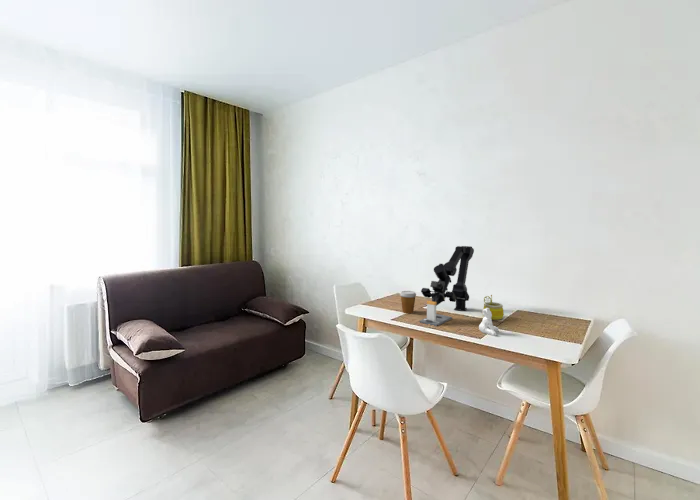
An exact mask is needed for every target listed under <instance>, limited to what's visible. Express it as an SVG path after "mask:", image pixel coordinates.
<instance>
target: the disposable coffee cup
mask: <svg viewBox="0 0 700 500" xmlns="http://www.w3.org/2000/svg"><path fill="white" fill-rule="evenodd" d="M399 295H400V299H401V300H400V301H401V310H402V313H403V314H413V313H414V310H415V309H414V308H415V301H416V297H417V293H416V291H411V290H402V291H400V293H399Z"/></svg>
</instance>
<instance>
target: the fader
mask: <svg viewBox="0 0 700 500" xmlns="http://www.w3.org/2000/svg"><path fill="white" fill-rule="evenodd" d="M436 304H437V302H433V301H432V300H427V301H426V318H427V320H432V321H433V322H435V321H436V314H437V306H436Z"/></svg>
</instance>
